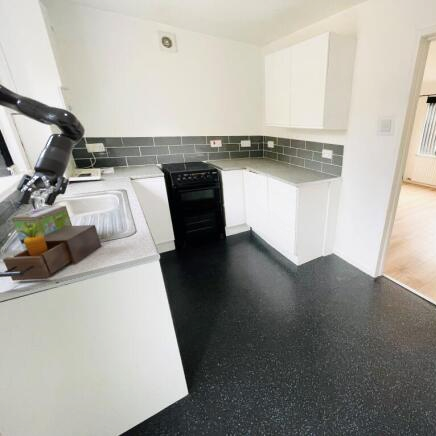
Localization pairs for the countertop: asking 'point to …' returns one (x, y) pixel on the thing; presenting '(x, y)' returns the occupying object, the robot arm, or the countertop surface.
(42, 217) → the tea box
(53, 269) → the drawer
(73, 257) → the cabinet
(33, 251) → the carrot
